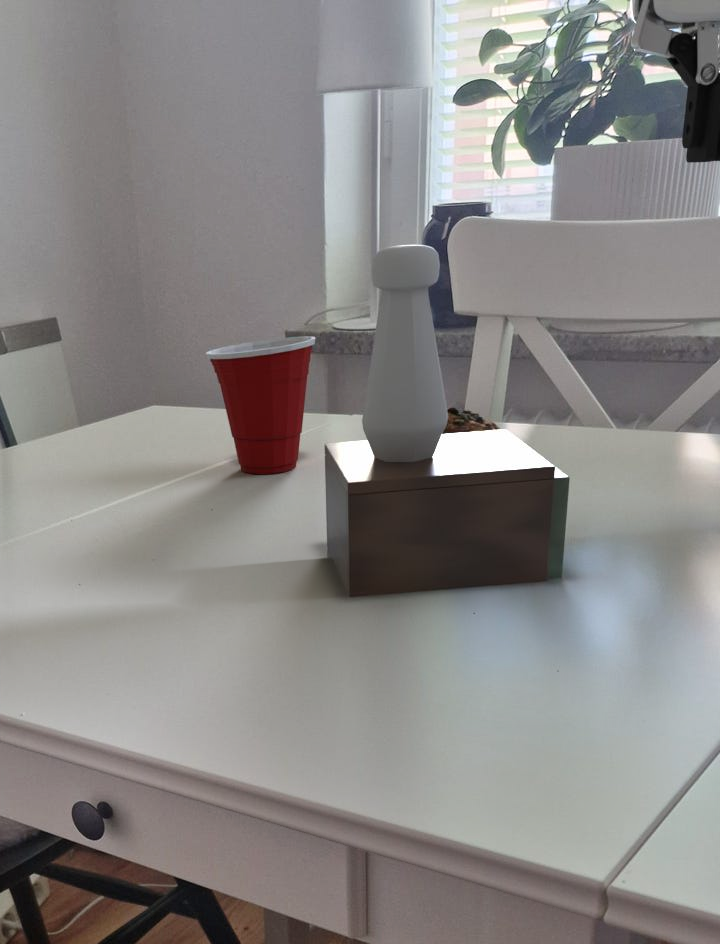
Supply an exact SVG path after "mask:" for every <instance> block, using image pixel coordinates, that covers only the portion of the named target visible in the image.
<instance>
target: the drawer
mask: <svg viewBox="0 0 720 944" xmlns="http://www.w3.org/2000/svg"><path fill="white" fill-rule="evenodd" d="M570 480H571V479H570V476H569V475H567V474H566V473H565V472H563V471H562V470H561V469H559V468H558V467H557V466H555V478H554V492H553V506H552V520H551V533H550V547H549V561H548V575H547V579H559V578H562V577H563V570H564V569H563V567H564V556H565V555H564V554H565V543H566V542H565V541H566V529H567V515H568V506H569V505H568V504H569V492H570V491H569V489H570Z"/></svg>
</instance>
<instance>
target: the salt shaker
mask: <svg viewBox="0 0 720 944" xmlns="http://www.w3.org/2000/svg"><path fill="white" fill-rule="evenodd" d="M440 267H441V264H440V256H439V252H438V251H437V250H436V249H435V248H434V247H433V246H430V245H425V244H400V245H392V246H386V247H385V248H382V249H380V250H378V251H377V252H376V254H375V255H374V256H373V258H372V264H371V281H372V284H373V287H375V288H377V289H379V290H381V291H380V297H379V302H378V303H379V304H378V312H377V317H376V324H375V331H374V337H373V345H372V351H371V358H370V365H369V371H368V377H367V378H368V379H367V384H366V391H365V399H364V405H363V411H362V417H361V418H362V419H361V423H362V430H363V432H364V435H365V437H366V440H368V443H369V445H370V448H371V450H372V453H373V455H374V457H375V458H377V459H380V460H382V461H385V462H415V461H420V460H424V459H428V458H432V457H433V456H434V453H435V451H436V448H437V446H438V443H439V441H440V438H441V436H442V433H443V431H444V429H445V427H446V425H447V421H448V412H447V409H448V408H447V406H448V405H447V400H446V394H445V388H444V381H443V376H442V370H441V364H440V358H439V352H438V351H439V350H438V345H437V339H436V334H435V326H434V320H433V315H432V309H431V303H430V296H429V295H430V294H429V288H431V286H433V285H435V284H436V283H437V282H438V280H439V277H440V269H441V268H440Z"/></svg>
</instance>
